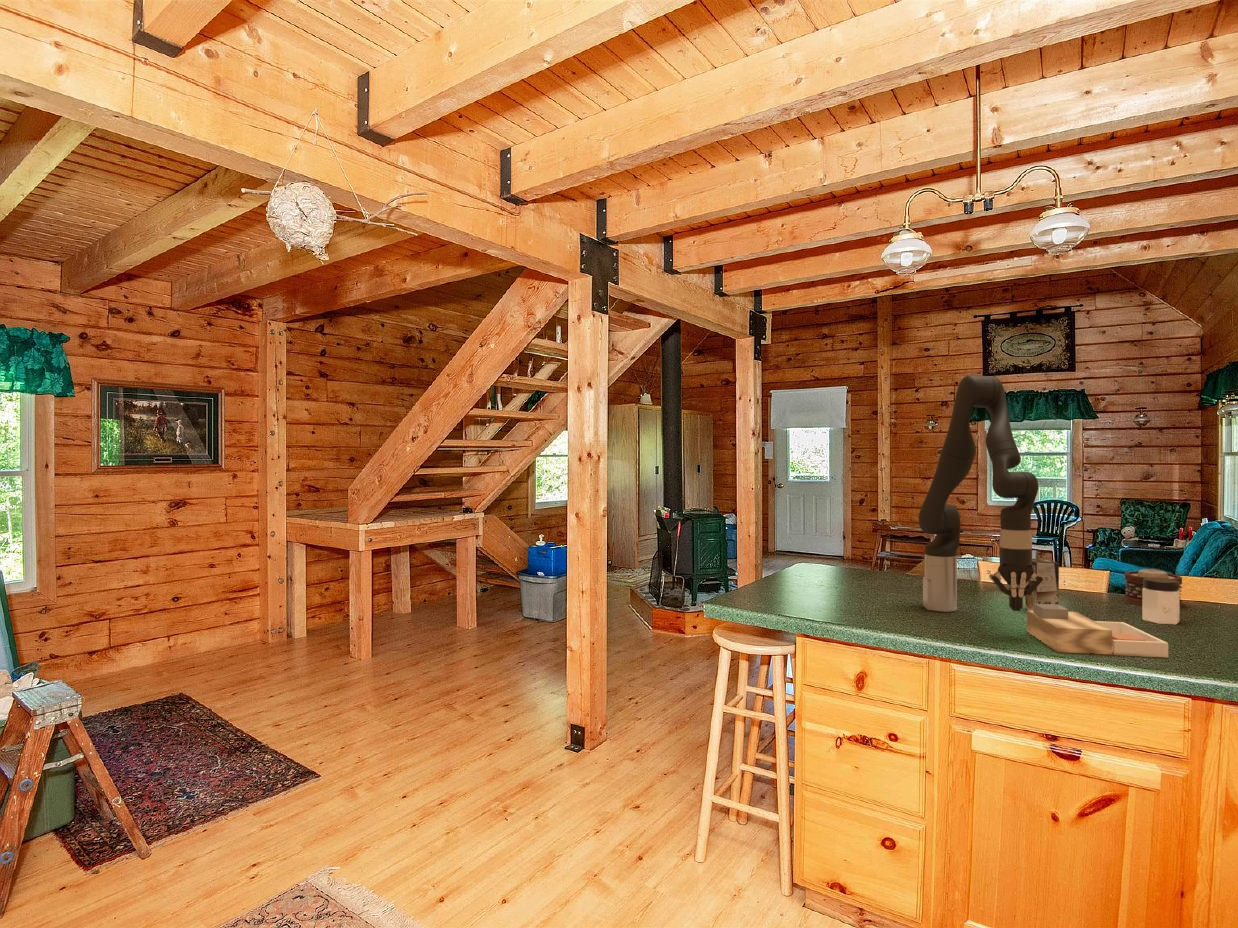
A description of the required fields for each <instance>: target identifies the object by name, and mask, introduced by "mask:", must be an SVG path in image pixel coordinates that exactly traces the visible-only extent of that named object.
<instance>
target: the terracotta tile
mask: <svg viewBox="0 0 1238 928" xmlns="http://www.w3.org/2000/svg"><path fill="white" fill-rule="evenodd" d="M1112 640H1130V641H1145V639H1142V638H1140V637H1138V636H1136V635H1133V634H1131V633H1112Z"/></svg>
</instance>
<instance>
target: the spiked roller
mask: <svg viewBox="0 0 1238 928" xmlns="http://www.w3.org/2000/svg"><path fill="white" fill-rule="evenodd" d="M1144 578H1166V579H1172V580H1177V581H1179V590H1180V600H1179V609H1181V608H1183V601H1182V600H1181V598H1182V596H1181V595H1182V594H1181V593H1182V588H1183V586H1182V584H1183V577H1182V576H1180V575H1177V574H1172V573H1168V572H1167V571H1164V570H1160V569H1148V568H1147V569H1146V568H1145V569H1140V570H1138V571H1137V570H1136V571H1135V570H1134V571H1133V570H1131V571H1126V572H1124V580H1125V581H1124V582H1125V583H1124V584H1125V585H1124V586H1125V587H1126V588H1125V589H1124V591H1125V594H1124V602H1125V604H1128V603H1129V605H1131V604H1132V606H1137V607H1142V589H1143V588H1144V587H1143V579H1144ZM1183 589H1184V588H1183Z"/></svg>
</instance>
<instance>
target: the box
mask: <svg viewBox="0 0 1238 928" xmlns="http://www.w3.org/2000/svg"><path fill="white" fill-rule="evenodd" d="M1094 621H1095V620H1094ZM1095 622H1097V623H1099V624H1101V625H1103V626H1105V627H1107V628H1109V629H1111V630H1112V633H1131V634H1133V635H1136V636H1138V637H1140V638H1142V639H1145V641H1130V640H1112V654H1111V655H1114V656H1123V657H1148V658H1167V659H1168V658H1169V643H1168V642H1167V641H1165V640H1162V639H1160V638H1158V637H1156V636H1154V635H1152V634H1149V633H1147V632H1146V631H1143V630H1141V629H1139V628H1136V627H1135V626H1132V625H1131V624H1128V623H1126V622H1123V621H1103V620H1102V621H1098V620H1097V621H1095Z"/></svg>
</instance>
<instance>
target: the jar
mask: <svg viewBox="0 0 1238 928" xmlns="http://www.w3.org/2000/svg"><path fill="white" fill-rule="evenodd" d="M1179 586H1180V585H1179V581H1177V580H1172V579H1166V578H1144V579H1143V587H1144V588H1143V589H1142V608H1141V611H1142V613H1141V615H1142V616H1141V618H1142V619H1141V620H1143V621H1145V622H1150V623H1154V624H1158V625H1176V626H1177V624H1179V623H1180V608H1179V600H1181V598H1180V597H1181V595H1180V593H1181V592H1180V590H1181V589H1180V590H1179Z"/></svg>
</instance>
